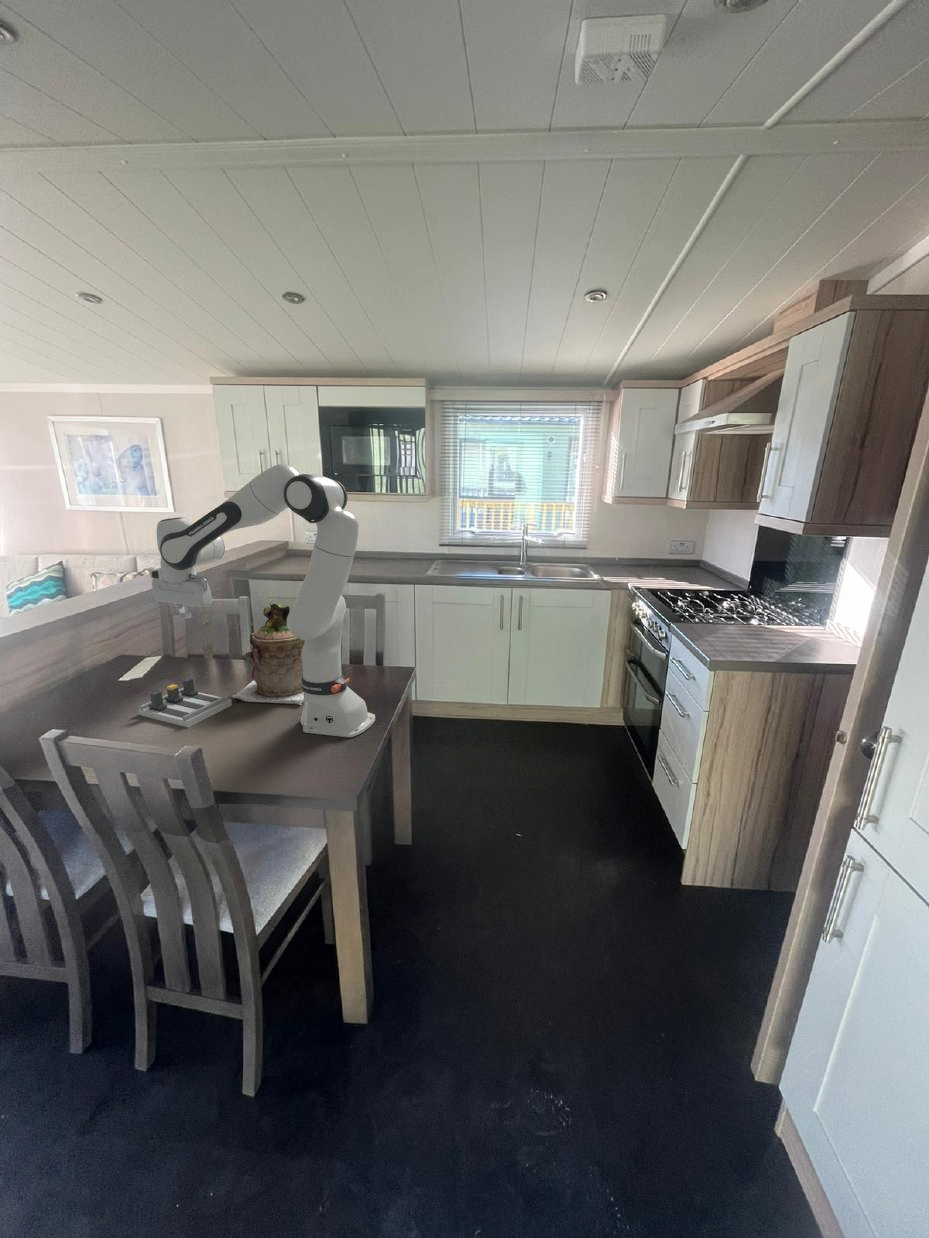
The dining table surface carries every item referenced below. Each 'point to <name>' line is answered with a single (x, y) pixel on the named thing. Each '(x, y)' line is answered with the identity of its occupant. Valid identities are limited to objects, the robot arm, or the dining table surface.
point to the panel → (187, 709)
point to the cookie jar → (275, 661)
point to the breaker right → (188, 687)
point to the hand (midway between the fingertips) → (185, 617)
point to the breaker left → (157, 701)
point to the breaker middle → (173, 694)
